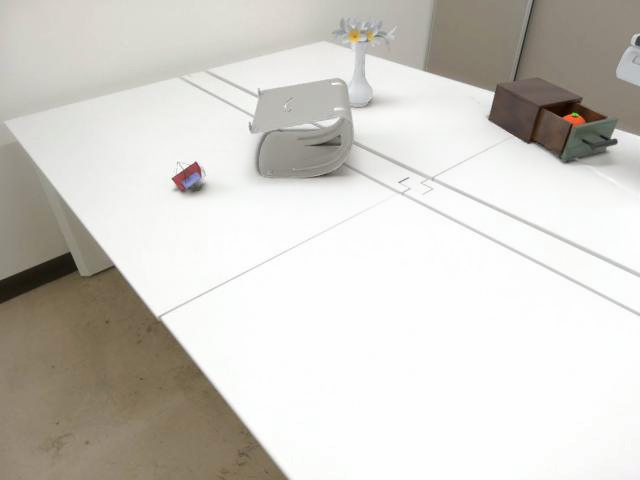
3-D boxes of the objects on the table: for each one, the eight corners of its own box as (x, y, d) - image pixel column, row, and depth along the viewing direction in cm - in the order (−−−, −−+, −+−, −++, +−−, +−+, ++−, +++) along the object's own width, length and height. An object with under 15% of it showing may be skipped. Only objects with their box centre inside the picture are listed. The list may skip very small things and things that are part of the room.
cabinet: (569, 134, 127) (583, 97, 120) (527, 143, 122) (539, 105, 116) (527, 112, 139) (538, 77, 132) (488, 119, 134) (496, 84, 128)
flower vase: (393, 109, 141) (402, 21, 125) (334, 112, 139) (335, 24, 123) (382, 93, 151) (390, 10, 135) (327, 96, 149) (328, 13, 133)
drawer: (619, 158, 114) (634, 126, 108) (578, 169, 110) (591, 135, 105) (559, 127, 128) (570, 96, 123) (521, 135, 124) (530, 104, 119)
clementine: (552, 131, 124) (560, 106, 119) (580, 135, 122) (589, 109, 117) (552, 144, 118) (561, 118, 114) (581, 148, 116) (591, 122, 112)
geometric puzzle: (172, 194, 100) (187, 162, 98) (161, 180, 104) (176, 149, 102) (200, 202, 105) (215, 172, 103) (189, 189, 109) (203, 160, 107)
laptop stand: (352, 179, 109) (355, 117, 99) (253, 179, 108) (246, 118, 99) (346, 131, 128) (348, 76, 119) (262, 132, 128) (258, 76, 119)
